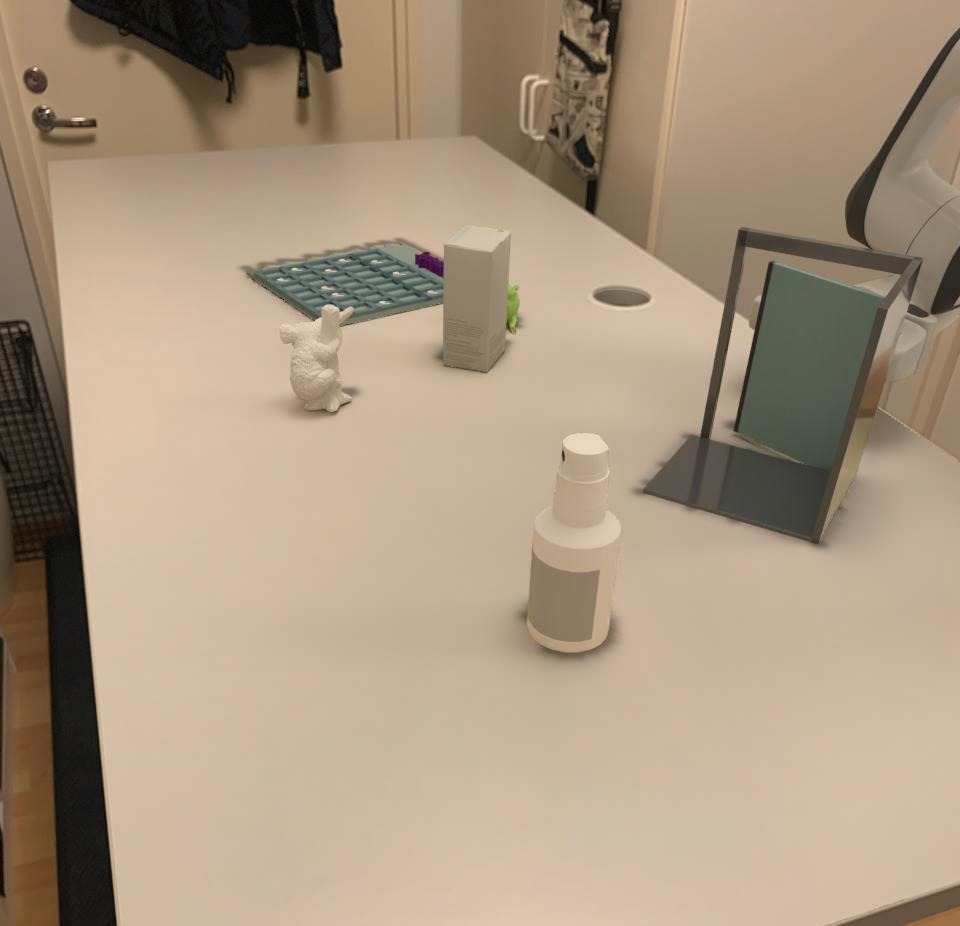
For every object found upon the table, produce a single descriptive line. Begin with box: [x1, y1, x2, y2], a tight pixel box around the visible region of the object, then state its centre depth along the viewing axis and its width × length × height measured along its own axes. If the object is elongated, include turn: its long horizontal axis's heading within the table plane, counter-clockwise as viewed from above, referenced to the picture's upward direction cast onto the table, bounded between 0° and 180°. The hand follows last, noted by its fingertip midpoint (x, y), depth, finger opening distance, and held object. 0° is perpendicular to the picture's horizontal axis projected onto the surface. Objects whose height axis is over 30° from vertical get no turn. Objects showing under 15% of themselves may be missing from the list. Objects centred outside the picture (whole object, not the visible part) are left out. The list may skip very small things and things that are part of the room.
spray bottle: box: [526, 432, 623, 653], centre depth 74 cm, size 7×7×18 cm
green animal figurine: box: [506, 283, 521, 334], centre depth 132 cm, size 6×5×6 cm
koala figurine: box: [279, 305, 354, 413], centre depth 109 cm, size 8×7×12 cm
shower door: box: [733, 260, 885, 471], centre depth 100 cm, size 14×6×19 cm, turn 39°
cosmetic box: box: [442, 224, 512, 373], centre depth 119 cm, size 8×7×16 cm
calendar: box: [245, 241, 444, 327], centre depth 145 cm, size 27×28×2 cm
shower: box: [642, 226, 923, 545], centre depth 91 cm, size 18×16×24 cm
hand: (789, 347), depth 103 cm, fingers closed on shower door, 2 cm apart
